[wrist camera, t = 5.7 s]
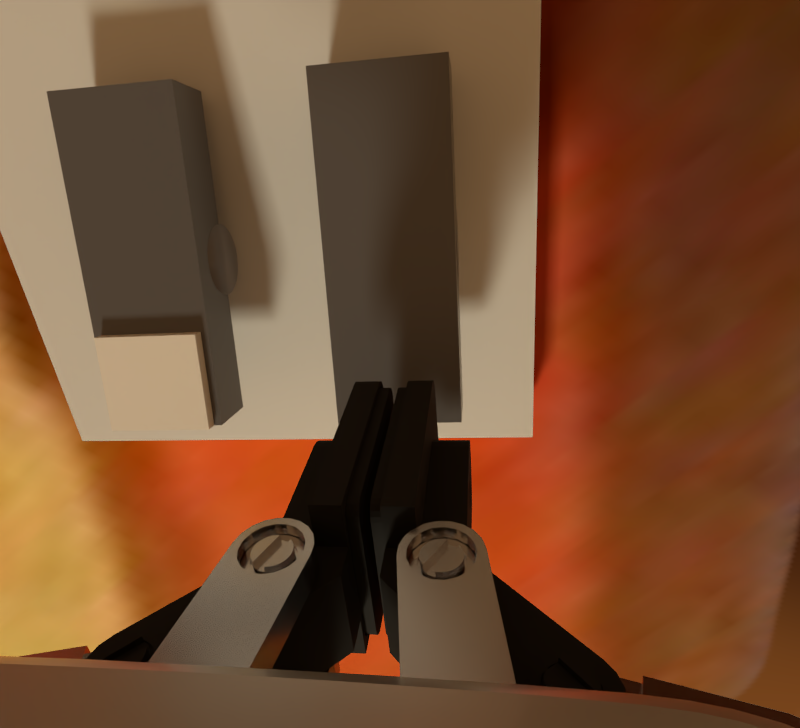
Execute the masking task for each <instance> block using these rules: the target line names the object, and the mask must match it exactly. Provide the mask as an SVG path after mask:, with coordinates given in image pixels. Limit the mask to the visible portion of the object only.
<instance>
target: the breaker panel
mask: <svg viewBox="0 0 800 728" xmlns="http://www.w3.org/2000/svg"><path fill="white" fill-rule="evenodd" d="M540 38H541V0H0V231H1V233H2V236H3V238H4V241H5V244H6V246H7V249H8V251H9V254H10V256H11V259H12V261H13V264H14V267H15V269H16V272H17V274H18V277H19V279H20V282H21V285H22V287H23V290H24V292H25V295H26V297H27V300H28V302H29V305H30V308H31V310H32V313H33V315H34V318H35V320H36V323H37V325H38V328H39V331H40V333H41V336H42V338H43V341H44V343H45V346H46V349H47V351H48V354H49V356H50V359H51V361H52V364H53V366H54V369H55V372H56V374H57V377H58V379H59V382H60V384H61V387H62V390H63V392H64V395H65V397H66V400H67V402H68V405H69V407H70V410H71V413H72V415H73V418H74V420H75V423H76V425H77V428H78V430H79V433H80V436H81V438H82V441H135V440H253V439H333V438H334V435H335V433H336V430H337V428H338V425H339V424H338V416H337V405H336V394H335V383H334V372H333V361H332V350H331V339H330V328H329V317H328V306H327V295H326V284H325V273H324V262H323V251H322V240H321V229H320V218H319V207H318V196H317V185H316V174H315V164H314V153H313V142H312V131H311V120H310V109H309V98H308V87H307V76H306V66H308V65H318V64H329V63H339V62H349V61H359V60H369V59H379V58H389V57H400V56H410V55H420V54H430V53H440V52H449V57H450V63H451V72H452V101H453V130H454V159H455V189H456V210H457V221H458V243H459V305H460V334H461V364H462V393H463V409H462V422H452V423H437V426H438V438H488V437H533V390H534V340H535V289H536V239H537V189H538V138H539V88H540ZM166 79H173V80H175V81H178V82H180V83H183V84H185V85H187V86H190V87H192V88H194V89H197V90H199V91H201V95H202V103H203V110H204V118H205V125H206V133H207V140H208V148H209V155H210V163H211V170H212V178H213V185H214V193H215V200H216V208H217V215H218V223H219V224H222V225H224V226H225V227H226V228H227V229H228V231H229V232H230V234H231V236H232V238H233V241H234V244H235V248H236V252H237V260H238V275H237V281H236V285H235V287H234V289H233V291H232V292H231V293H230V294H228V297H229V305H230V312H231V320H232V327H233V335H234V342H235V350H236V357H237V365H238V372H239V380H240V387H241V395H242V402H243V408H242V409H240V410H239V411H238V412H237V413H236V414H234V415H233V416H232V417H231V418H230V419H229V420H227V421H226V422H225V423H224V424H223V425H214V426H213V427H212V428H210V429H209V430H135V431H112V429H111V424H110V419H109V413H108V408H107V403H106V398H105V393H104V388H103V383H102V377H101V372H100V367H99V362H98V357H97V352H96V347H95V342H94V333H93V328H92V323H91V318H90V313H89V307H88V302H87V297H86V292H85V287H84V282H83V277H82V271H81V266H80V261H79V256H78V251H77V246H76V241H75V235H74V230H73V225H72V220H71V215H70V210H69V205H68V200H67V194H66V189H65V184H64V179H63V174H62V169H61V164H60V158H59V153H58V148H57V143H56V138H55V133H54V128H53V122H52V117H51V112H50V107H49V102H48V97H47V92H46V91H54V90H65V89H75V88H85V87H95V86H105V85H115V84H125V83H136V82H146V81H156V80H166Z"/></svg>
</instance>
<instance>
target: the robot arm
mask: <svg viewBox="0 0 800 728" xmlns="http://www.w3.org/2000/svg"><path fill="white" fill-rule="evenodd" d="M471 523H472V484H471V453H470V440H438V426H437V411H436V396H435V384H434V380H423V381H408V382H407V386H406V387H401V388H398V390H397V394H396V398H395V402H393V393H392V389H391V388H383V384H382V382H381V381H364V382H355V384H354V386H353V389H352V391H351V394H350V397H349V399H348V402H347V404H346V407H345V410H344V412H343V415H342V417H341V420H340V423H339V425H338V428H337V430H336V433H335V435H334V438H333V441H318V442H316V444H315V445H314V447H313V450H312V452H311V454H310V457H309V459H308V461H307V464H306V466H305V468H304V471H303V473H302V475H301V478H300V480H299V482H298V485H297V487H296V489H295V492H294V494H293V496H292V499H291V501H290V503H289V506H288V508H287V510H286V513H285V515H284V517H283V518H276V519H271V520H266V521H263V522H260V523H258V524H256V525H253V526H251V527H250V528H248V529H247V530H245V531H244V532H242V533H241V534H240V535H239V536H238V537H237V539H236V540H235V541H234V542H233V543H232V545H231V546H230V547H229V549H228V550H227V552H226V553H225V554H224V556H223V557H222V559H221V560H220V561H219V563H218V564H217V566H216V567H215V568H214V570H213V571H212V573H211V574H210V575H209V577H208V578H207V580H206V581H205V583H204V584H203V585H202V586H201V587H199V588H197V589H196V590H194V591H192V592H190V593H188V594H187V595H185V596H183V597H181V598H179V599H178V600H176V601H174V602H172V603H170V604H169V605H167V606H165V607H163V608H162V609H160V610H158V611H156V612H154V613H153V614H151V615H149V616H147V617H145V618H144V619H142V620H140V621H138V622H136V623H135V624H133V625H131V626H129V627H127V628H126V629H124V630H122V631H120V632H119V633H117V634H115V635H113V636H112V637H110V638H109V639H107V640H106V641H104V642H103V643H102V644H100V645H99V646H98V647H97V648H96V649H95V650H94V651H93V652H91V653H90V651H89V649H88V647H87V646H82V647H76V648H70V649H63V650H57V651H51V652H45V653H39V654H32V655H26V656H20V657H9V656H0V728H800V718H798V717H796V716H793V715H791V714H788V713H784V712H780V711H777V710H773V709H769V708H765V707H761V706H758V705H753V704H750V703H745V702H742V701H738V700H734V699H730V698H727V697H723V696H719V695H715V694H711V693H707V692H703V691H700V690H696V689H692V688H688V687H684V686H680V685H676V684H673V683H669V682H665V681H661V680H657V679H653V678H649V677H645V676H643V679H642V683H638V682H634V681H630V680H626V679H623V678H619V676H618V674H617V673H616V672H615V671H614V670H613V669H612V668H611V667H610V666H609V665H608V664H607V663H606V662H605V661H604V660H603V659H602V658H601V657H599V656H598V655H597V654H595V653H594V652H593V651H592V650H590V649H589V648H588V647H586V646H585V645H584V644H583V643H581V642H580V641H579V640H577V639H576V638H575V637H574V636H572V635H571V634H570V633H568V632H567V631H566V630H565V629H563V628H562V627H561V626H560V625H558V624H557V623H556V622H554V621H553V620H552V619H551V618H549V617H548V616H547V615H545V614H544V613H543V612H542V611H540V610H539V609H538V608H536V607H535V606H534V605H533V604H531V603H530V602H529V601H527V600H526V599H525V598H524V597H522V596H521V595H520V594H519V593H517V592H516V591H515V590H513V589H512V588H511V587H510V586H508V585H507V584H506V583H504V582H503V581H502V580H501V579H499V578H498V577H497V576H495V575H494V574H493V573H492V572H491V567H490V563H489V558H488V553H487V549H486V546H485V544H484V542H483V540H482V538H481V537H480V536H479V535H478V534H477V533H476V532H475V531H474V530H473V529H471ZM383 614H384V621H385V629H386V634H387V635H388V641H389V648H390V653H391V654H392V655H393V656H394V657H395V659H396V660H397V661H398V662H399V663H400V677H395V676H379V675H362V674H345V673H339V672H340V667H339V661H341V660H342V659H343V658H345V657H346V656H348V655H349V654H350V653H366V650H367V645H368V640H369V635H370V634H375V635H378V634H379V632H380V628H381V622H382V617H383Z"/></svg>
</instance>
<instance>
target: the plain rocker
mask: <svg viewBox="0 0 800 728" xmlns="http://www.w3.org/2000/svg"><path fill="white" fill-rule="evenodd" d="M306 76H307V87H308V98H309V109H310V120H311V131H312V142H313V153H314V164H315V174H316V185H317V196H318V207H319V218H320V229H321V240H322V251H323V262H324V273H325V284H326V295H327V306H328V317H329V328H330V339H331V350H332V361H333V372H334V383H335V394H336V405H337V416H338V424H339V423H340V420H341V417H342V415H343V412H344V410H345V407H346V404H347V402H348V399H349V397H350V394H351V391H352V389H353V386H354V384H355V382H364V381H381V382H382V384H383V388H391V389H392V393H393V402H395V398H396V394H397V390H398V388H401V387H406V386H407V382H408V381H423V380H434V384H435V396H436V411H437V423H452V422H462V409H463V393H462V364H461V334H460V305H459V243H458V221H457V210H456V189H455V159H454V130H453V101H452V72H451V63H450V57H449V52H440V53H430V54H420V55H410V56H400V57H389V58H379V59H369V60H359V61H349V62H339V63H329V64H318V65H308V66H306Z"/></svg>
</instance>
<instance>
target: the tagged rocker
mask: <svg viewBox="0 0 800 728" xmlns="http://www.w3.org/2000/svg"><path fill="white" fill-rule="evenodd" d="M46 92H47V97H48V102H49V107H50V112H51V117H52V122H53V128H54V133H55V138H56V143H57V148H58V153H59V158H60V164H61V169H62V174H63V179H64V184H65V189H66V194H67V200H68V205H69V210H70V215H71V220H72V225H73V230H74V235H75V241H76V246H77V251H78V256H79V261H80V266H81V271H82V277H83V282H84V287H85V292H86V297H87V302H88V307H89V313H90V318H91V323H92V328H93V333H94V342H95V347H96V352H97V357H98V362H99V367H100V372H101V377H102V383H103V388H104V393H105V398H106V403H107V408H108V413H109V419H110V424H111V429H112V431H135V430H209V429H210V428H212V427H213V426H214V425H223V424H224V423H225V422H226V421H227V420H229V419H230V418H231V417H232V416H233V415H234V414H236V413H237V412H238V411H239V410H240V409H242V408H243V402H242V395H241V387H240V380H239V372H238V365H237V357H236V350H235V342H234V335H233V327H232V320H231V312H230V305H229V297H228V294H230V293H231V292H232V291H233V289H234V287H235V285H236V281H237V275H238V260H237V252H236V248H235V244H234V241H233V238H232V236H231V234H230V232H229V231H228V229H227V228H226V227H225V226H224V225H222V224H219V223H218V215H217V208H216V200H215V193H214V185H213V178H212V170H211V163H210V155H209V148H208V140H207V133H206V125H205V118H204V110H203V103H202V95H201V91H199V90H197V89H194V88H192V87H190V86H187V85H185V84H183V83H180V82H178V81H175V80H173V79H166V80H156V81H146V82H136V83H125V84H115V85H105V86H95V87H85V88H75V89H65V90H54V91H46Z"/></svg>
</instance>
